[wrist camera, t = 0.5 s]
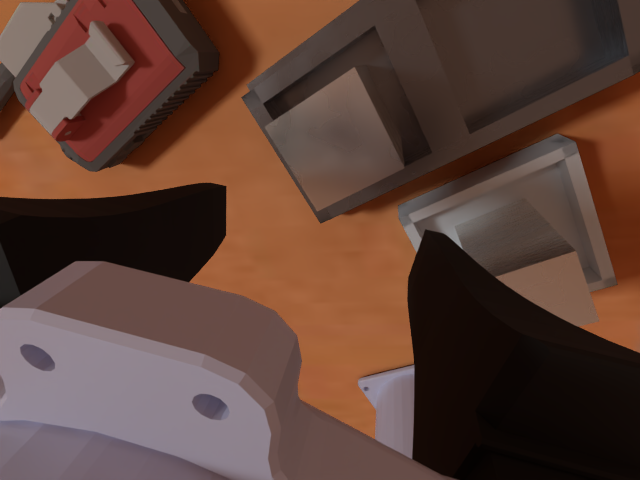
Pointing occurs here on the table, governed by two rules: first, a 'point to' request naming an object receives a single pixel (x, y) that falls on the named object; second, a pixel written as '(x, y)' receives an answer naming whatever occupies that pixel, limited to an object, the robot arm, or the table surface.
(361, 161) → the seated billet
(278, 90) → the metal divided rack
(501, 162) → the grey square tray
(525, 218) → the loose billet
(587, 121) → the table surface
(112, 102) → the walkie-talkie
